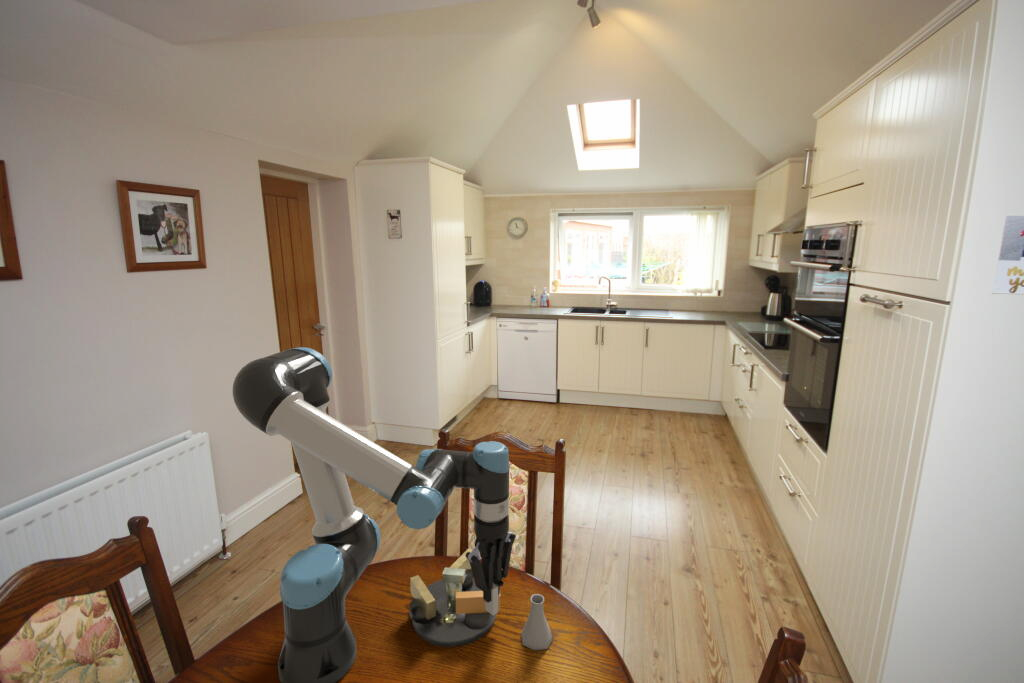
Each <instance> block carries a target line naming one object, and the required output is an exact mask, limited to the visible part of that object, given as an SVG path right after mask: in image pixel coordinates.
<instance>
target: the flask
mask: <svg viewBox="0 0 1024 683" xmlns="http://www.w3.org/2000/svg"><path fill="white" fill-rule="evenodd" d="M529 600H530V610H529V614H528V617H527V619H526V622H525V624H524V626H523V628H522V630H521V633H520V638H521V643H522V646H524V647H526V648H529V649H530V650H533V651H541V650H548V648H549V647H550V645H551V643H552V642H553V641H554V639H553V635H552V632H551V629H550V626H549V624H548V620H547V618H546V615H545V613H544V603H545V597H544V595H542V594H540V593H534V594H532V595H531V596H530V598H529Z"/></svg>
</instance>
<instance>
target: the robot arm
mask: <svg viewBox="0 0 1024 683" xmlns="http://www.w3.org/2000/svg"><path fill="white" fill-rule="evenodd" d="M332 379H333V371H332V367H331V364H330V363H329V361H328V360H327V359H326V357H325V356H324V355H323V354H321V353H320V352H319V351H317V350H315V349H313V348H311V347H304V346H301V347H295V348H288V349H283V350H282V351H279V352H276V353H272V354H271V355H267V356H265V357H260V358H258V359H254V360H251V361H250V362H248V363H246V365H244V366H243V367H242V368H241V369H240V370H239V371H238V372H237V374H236V376H235V377H234V381H233V384H232V397H233V401H234V404H235V406H236V409H237V410H238V412H239V413H240V414H241V416H243V418H244V419H245V420H246V421H247V422H248V423H249V424H251V425H252V426H254V427H255V428H256V429H257V430H260V431H261V432H263V433H264V434H266V435H268V436H270V437H273V436H276V435H277V436H281V437H283V438H284V439H286V440H288V441H289V442H291V446H292V449H293V452H294V454H295V458H296V461H297V464H298V468H299V471H300V475H301V477H302V480H303V485H304V487H305V490H306V492H307V496H308V499H309V502H310V505H311V509H312V512H313V514H314V518H315V521H316V522H315V523H314V524H313V527H312V528H311V533H312V536H313V540H314V544H312V545H309V546H307V548H306V549H300V550H299V551H297V552H296V553H295V554H293V555H292V556H291V557H290V558H288V560H287V562H286V563H285V565H284V566H283V567H282V569H281V570H282V571H281V574H280V586H279V593H280V598H281V605H282V606H281V608H282V616H283V627H284V628H283V629H284V635H285V636H284V640H283V644H282V648H281V651H280V654H279V658H278V662H277V670H278V678H279V681H280V683H337V682H339V681H340V680H341V679H342V678H344V676H345V675H346V674H348V673H349V671H350V670H351V668H352V666H353V665H354V663H355V661H356V658H357V642H356V641H357V640H356V636H355V634H354V632H353V631H352V629H351V626H350V625H349V622H348V621H347V619H346V618H347V616H346V615H347V614H346V597H347V595H348V593H349V592H350V590H352V588H353V586H354V585H355V584H356V582H357V581H358V580H359V578H360V576H361V575H362V574H363V573H364V571H365V570H366V569H367V567H368V566H369V565H370V564H371V563H372V562H373V559H375V556H376V554H377V552H378V550H379V549H380V545H381V532H380V529H379V526H378V523H377V522H376V521H375V519H373V518H370V516H369V515H368V514H367V513H365V511H364V509H363V508H362V507H359V506H355V503H354V499H353V495H352V493H351V490H350V487H349V483H348V480H347V479H348V478H347V477H349V478H351V479H353V480H355V481H356V482H358V483H359V484H361V485H363V486H364V487H366V488H368V489H369V490H371V491H372V492H374V493H376V494H378V495H379V496H382V497H383V498H385V500H386V499H387V500H388V501H390V502H391V503H393V504H394V505H396V513H397V514H396V515H397V517H398V518H399V519H400V521H401V522H402V524H403V525H404V526H406V527H408V528H409V529H412V530H423V529H425V528H427V527H430V526H431V525H432V524H433V523H434V522H435V521H436V520H437V518H438V516H439V515H440V514H441V513H442V512H443V510H444V506H445V505H446V503H447V501H448V499H449V497H450V496H451V494H452V492H454V490H455V489H456V488H458V489H472V490H473V514H474V515H473V527H474V528H473V530H474V533H475V537H476V538H475V540H474V548H473V549H472V550H473V551H472V552H471V553H470V552H467V553H466V558H467V559H468V560H469V562H470V566H471V570H472V574H473V579H474V582H475V586H476V587H478V588H479V589H480V590H482V591H483V599H484V600H485V610H487V611H488V612H489V613H490V614H492V615H493V616H494V615H495V614H496V615H497V614H498V613H499V612H498V596H499V594H500V595H501V587H503V586H504V585H505V584H504V583H505V582H504V581H503V579H507V577H508V571H509V566H510V561H511V555H512V550H513V544H514V543H515V540H516V534H514V533H513V532H511V531H510V530H509V529H510V513H509V511H510V469H511V468H510V467H511V465H510V458H509V456H510V455H509V454H510V452H509V448H508V446H506V445H505V444H504V443H502V442H500V441H495V440H494V441H493V440H492V441H491V440H489V441H481V442H479V443H477V444H475V446H474V448H473V451H464V450H463V451H461V450H452V449H451V450H449V449H443V448H435V449H433V448H432V449H430V448H429V449H427V448H426V449H423V450H422V451H421V452H420V453H419V455H418V459H417V460H416V463H415V466H414V465H413V464H411V463H409V462H407V461H406V460H404V459H402V458H401V457H399V456H398V455H396V454H394V453H392V452H390V451H389V450H387V449H386V448H384V447H383V446H381V445H379V444H377V443H375V442H374V441H372V440H371V439H369V438H367V437H365V436H364V435H362V433H361V434H360V433H359V432H358V431H355V429H352V428H350V427H349V426H348V425H345V424H344V423H343V422H341V421H339V420H338V419H336V418H334V417H332V416H331V415H329V414H328V413H327V408H328V406H329V405H330V402H331V399H330V395H329V392H328V388H329V387H330V384H331V381H332ZM480 560H481V561H480Z"/></svg>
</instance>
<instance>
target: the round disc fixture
mask: <svg viewBox="0 0 1024 683" xmlns="http://www.w3.org/2000/svg"><path fill="white" fill-rule="evenodd" d="M472 551H473V549H472V548H470V547H469V548H467V549H466V550H465V551H464V552H463V553H462V554H461V555H460V556H459V557H458V558H457V559H456V561H454V562H453V563H452V564H451V565H450V567H447V566H446V567H444V569H443V571H442V574H441V576H442V577H441V579H439V580H437V581H434V582H432V583H430V584H428V585H427V586H426V584H425V583H424V581H423V580H422V578H421V577H420V576H419V575H418V574H417V575H414V576H412V577H409V579H410V584H409V585H410V594H411V595H412V596H411V597H413V599H412V600H411V601H410V602H409V618H410V620H411V623H412V627H413V630H414V632H415V633H416V635H418V636H419V637H420V638H421V639H422V640H423V641H425V642H427V643H429V644H432V645H434V646H438V647H445V648H454V647H463V646H465V645H469V644H471V643H474V642H476V641H478V640H479V639H481V638H483V637H484V636H485V635H486V634H487V633H488V632H489V631H490V630H491V628H492V626H494V623H495V621H496V618H497V613H496V614H495V615H494V616H493V615H492V614H491V622H490V624H489V625H488V626H486V627H485V628H482V629H473V628H471V627H469V626H468V625H467V624H466V622H465V614H456V592H468V591H482V590H480V589H479V588H478V587H476V586H475V582H474V578H473V574H472V570H471V566H470V562H469V560H468V559H467V558H466V553H467V552H470V553H471V552H472Z"/></svg>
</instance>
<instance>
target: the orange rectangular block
mask: <svg viewBox="0 0 1024 683" xmlns="http://www.w3.org/2000/svg"><path fill="white" fill-rule="evenodd" d="M501 598H502V597H501V593H500V594H499V596H498V613H499V612H501V601H502V600H501ZM456 614H465V622H466V624H467V625H468V626H469V627H471V628H473V629H482V628H485V627H486V626H488V625H489V624H490V622H491V614H490V613H489V612H488V611H487V610H485V600H484V599H483V591H468V592H456Z"/></svg>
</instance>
